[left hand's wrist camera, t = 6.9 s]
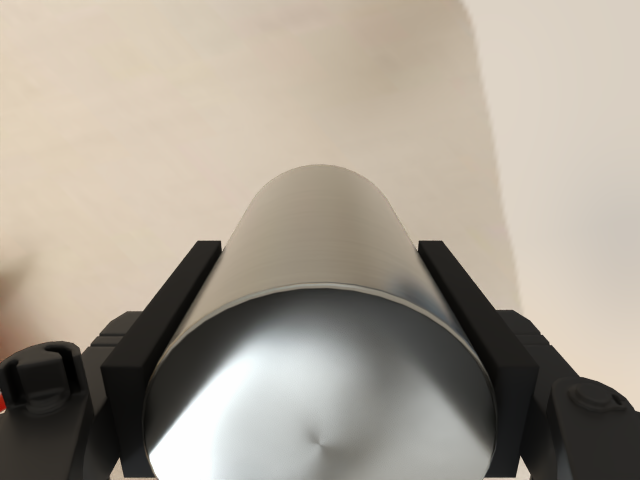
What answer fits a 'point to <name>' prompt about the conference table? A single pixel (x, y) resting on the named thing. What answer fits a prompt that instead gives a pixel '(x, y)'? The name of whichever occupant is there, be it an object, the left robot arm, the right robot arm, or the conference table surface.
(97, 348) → the left robot arm
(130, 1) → the conference table surface
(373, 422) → the can
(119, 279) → the conference table surface
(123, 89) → the conference table surface
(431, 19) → the conference table surface
